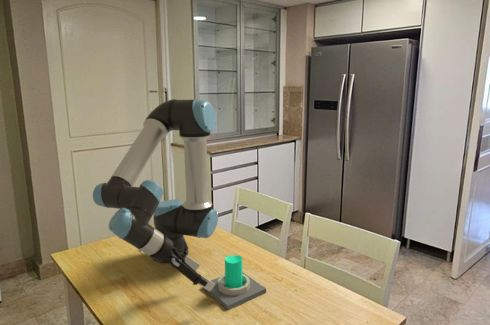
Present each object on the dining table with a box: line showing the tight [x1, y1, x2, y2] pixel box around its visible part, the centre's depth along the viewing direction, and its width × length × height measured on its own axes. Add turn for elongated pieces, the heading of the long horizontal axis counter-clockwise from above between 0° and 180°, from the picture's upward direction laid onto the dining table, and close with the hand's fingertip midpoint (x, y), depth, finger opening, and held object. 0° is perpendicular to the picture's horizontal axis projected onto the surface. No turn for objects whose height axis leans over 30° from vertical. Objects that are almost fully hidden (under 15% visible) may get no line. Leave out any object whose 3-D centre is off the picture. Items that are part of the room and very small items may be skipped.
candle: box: [224, 253, 243, 288], centre depth 122 cm, size 6×6×12 cm
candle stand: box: [201, 271, 267, 310], centre depth 123 cm, size 16×16×4 cm
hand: (204, 277), depth 117 cm, fingers open, 13 cm apart
